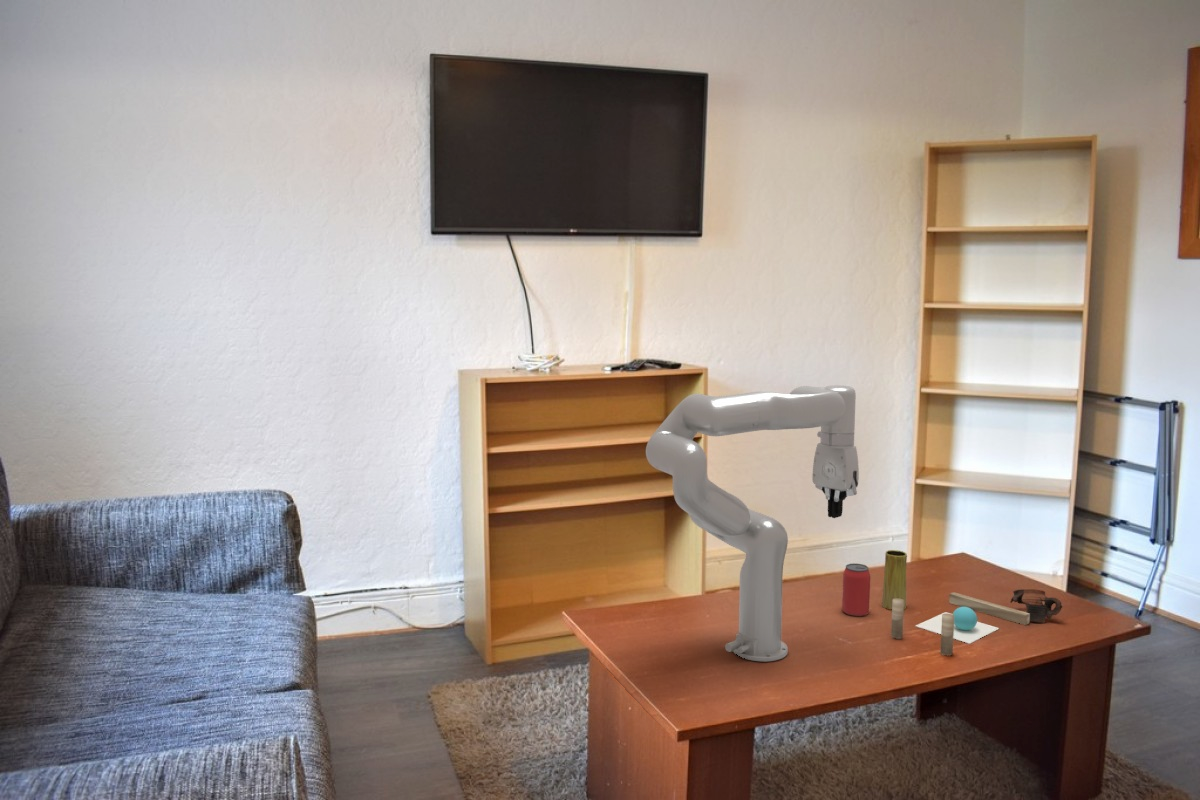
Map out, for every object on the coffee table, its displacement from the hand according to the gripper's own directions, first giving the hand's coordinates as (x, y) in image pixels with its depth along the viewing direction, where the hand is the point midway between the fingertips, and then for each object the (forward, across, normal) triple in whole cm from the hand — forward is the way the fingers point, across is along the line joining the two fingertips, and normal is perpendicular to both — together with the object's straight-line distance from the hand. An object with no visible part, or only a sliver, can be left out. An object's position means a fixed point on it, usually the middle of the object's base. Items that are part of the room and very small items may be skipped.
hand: (834, 516), depth 215 cm
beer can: (+29, -5, +17) cm, 34 cm away
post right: (+29, +23, +11) cm, 39 cm away
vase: (+29, -1, +28) cm, 41 cm away
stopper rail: (+29, +17, +42) cm, 54 cm away
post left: (+29, +11, +11) cm, 33 cm away
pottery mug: (+30, +26, +48) cm, 62 cm away
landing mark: (+29, +17, +27) cm, 43 cm away
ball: (+26, +19, +27) cm, 42 cm away
